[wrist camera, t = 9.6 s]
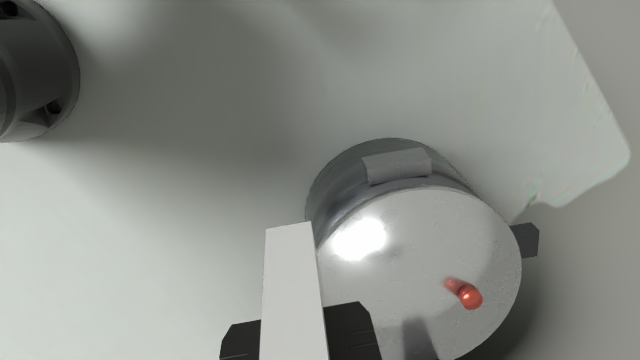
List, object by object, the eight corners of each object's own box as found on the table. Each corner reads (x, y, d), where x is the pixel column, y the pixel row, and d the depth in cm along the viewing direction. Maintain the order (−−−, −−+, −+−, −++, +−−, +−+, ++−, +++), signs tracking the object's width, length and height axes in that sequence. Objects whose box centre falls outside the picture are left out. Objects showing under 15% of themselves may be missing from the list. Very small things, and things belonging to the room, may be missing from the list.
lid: (334, 422, 49) (336, 443, 47) (290, 206, 39) (290, 219, 36) (512, 389, 50) (524, 409, 47) (517, 166, 39) (533, 177, 36)
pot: (290, 292, 59) (293, 363, 48) (256, 146, 49) (250, 194, 38) (488, 256, 59) (535, 319, 48) (492, 106, 49) (551, 142, 39)
